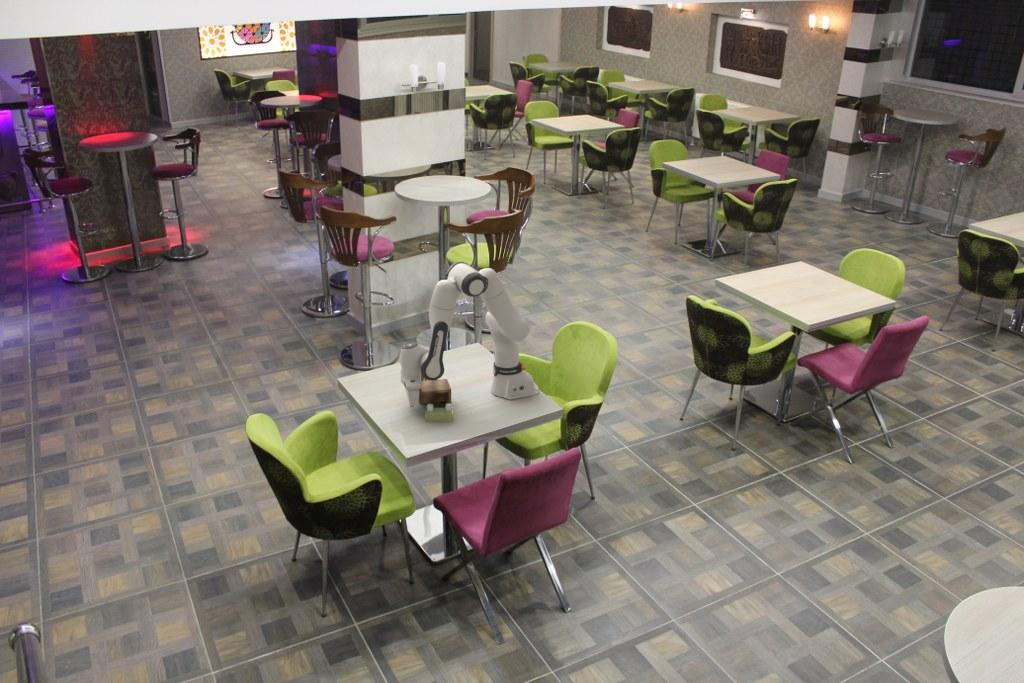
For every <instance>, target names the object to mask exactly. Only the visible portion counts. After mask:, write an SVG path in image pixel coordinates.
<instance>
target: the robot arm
mask: <svg viewBox="0 0 1024 683" xmlns="http://www.w3.org/2000/svg"><path fill="white" fill-rule="evenodd" d="M462 293H463V294H464V295H466V296H468V297H470V298H471V297H472V298H477V297H479V296H480V298H481V300H482V301H483V304H484V306H485V309H486V310H487V312H486V314H485V318H484V319H485V324H486V326H487V327H488V329H489V331H490V334H491V339H492V342H493V348H494V362H493V367H492V374H493V379H492V383H491V387H490V393H491V394H492V395H494V396H497V397H500V398H505V399H507V400H509V401H511V400H516V399H522V398H526V397H532V396H537V395H538V394H539V392H540V388H539V386H538V385H537V384H536V383H535V381H534V377H533V376H532V375H531V374H530V373H529V372H527V371H526V366H525V365H523V363H522V362H521V361H520V360H519V358H520V357H519V356H520V354H519V351H520V348H519V345H518V343H517V342H523V341H524V340H526V339H527V337H528V336H529V334H530V331H531V330H530V329H531V327H530V324H529V323H528V321H526V320H525V319H524V317H523V316H522V315H521V313H520V312H519V310H518V309H517V307H516V306H515V305H514V304H513V302H512V300H511V299H510V297H509V294H508V293H507V289H506V288H505V286H504V284H503V282H502V279H501V278H500V276H499V275H498V273H497V272H496V271H495V270H494V269H493V268H490V267H484V268H482V269H480V270H479V271H478V270H477V269H475V268H474V267H472V266H471V265H469V263H466V262H464V261H460V260H459V261H455V262H453V263H451V265H450V266H449V267H448V269H447V271H446V273H445V275H444V279H442V280H439V281H438V282H437V283H436V285H435V287H434V290H433V292H432V295H431V299H430V302H429V309H428V321H429V324H430V331H431V332H430V334H431V336H430V343H429V347H428V346H424V345H422V344H419V343H418V342H415V341H409V342H407V343H405V344H403V345H402V346H401V349H400V354H399V356H400V357H399V358H400V359H399V362H400V363H399V364H400V367H401V368H400V383H401V384H402V385H403V387H404V389H405V392H406V396H407V399H408V400H407V401H408V404H409V408H414V407H417V406H419V405H420V404H419V389H421V374H422V376H423V377H424V378H425V379H427V380H431V381H433V380H439V379H442V377H443V375H444V373H445V365H444V361H443V358H444V352H445V347H446V341H447V337H448V334H449V331H450V328H451V325H452V322H453V318H454V316H455V313H456V308H457V302H458V298H459V297H460V295H462Z"/></svg>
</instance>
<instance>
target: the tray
mask: <svg viewBox="0 0 1024 683" xmlns="http://www.w3.org/2000/svg"><path fill="white" fill-rule="evenodd" d="M426 404H427V405H426V407H425V422H450V421H451V422H453V421H454V407H452V403H451V404H450V403H447V404H446V403H445V407H434V404H433V403H426Z"/></svg>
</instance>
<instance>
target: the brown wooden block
mask: <svg viewBox="0 0 1024 683" xmlns="http://www.w3.org/2000/svg"><path fill="white" fill-rule="evenodd" d="M439 402H444V403H445V405H446V404H447V403H450V404H452V388H451V386H450V383H449V380H448V378H443V379H442V378H439V379H437V380H433V381H431V380H427V381H421V389H419V404H418V405H420V404H432V403H439Z"/></svg>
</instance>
